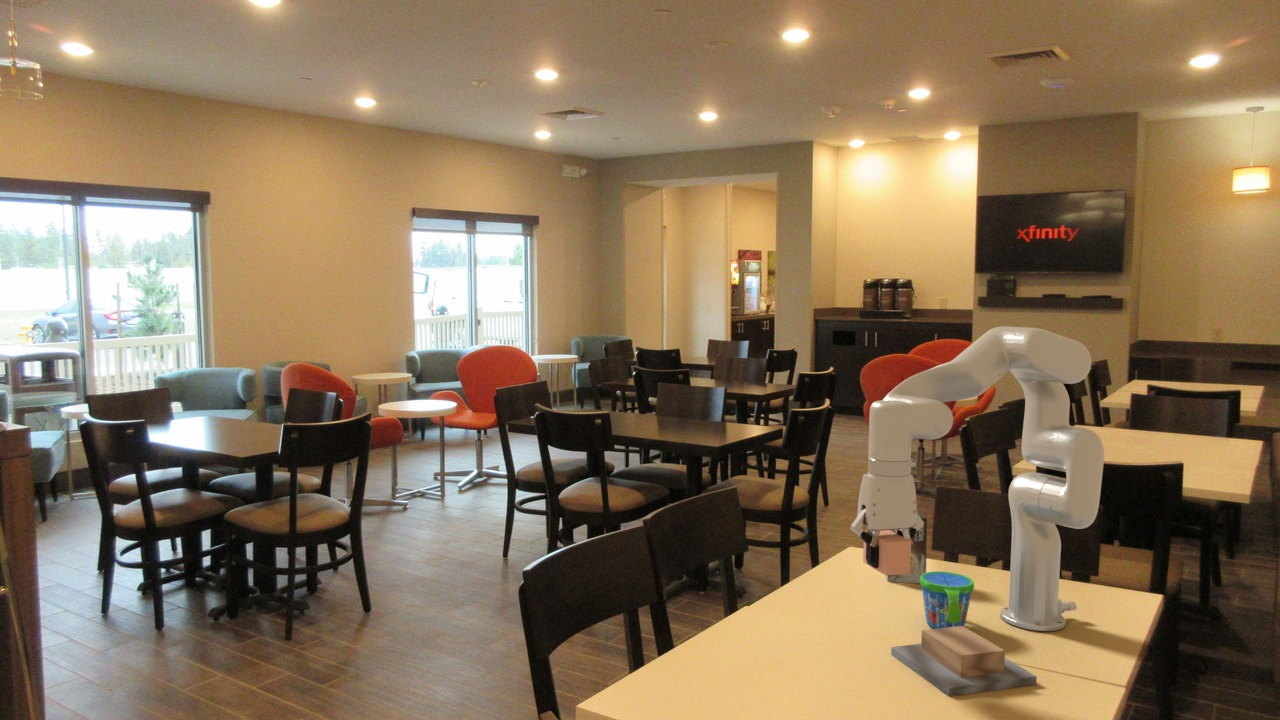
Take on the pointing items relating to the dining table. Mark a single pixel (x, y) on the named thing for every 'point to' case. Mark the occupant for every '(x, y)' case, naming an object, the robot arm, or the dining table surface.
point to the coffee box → (915, 556)
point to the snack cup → (946, 598)
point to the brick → (892, 553)
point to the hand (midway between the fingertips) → (886, 563)
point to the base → (957, 682)
